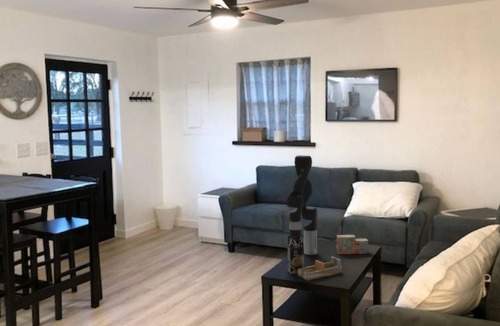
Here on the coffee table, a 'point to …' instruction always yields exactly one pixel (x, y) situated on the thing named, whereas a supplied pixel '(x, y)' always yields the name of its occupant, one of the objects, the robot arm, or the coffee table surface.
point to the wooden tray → (328, 270)
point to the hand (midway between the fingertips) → (295, 253)
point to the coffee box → (295, 259)
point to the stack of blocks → (351, 245)
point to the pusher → (319, 265)
